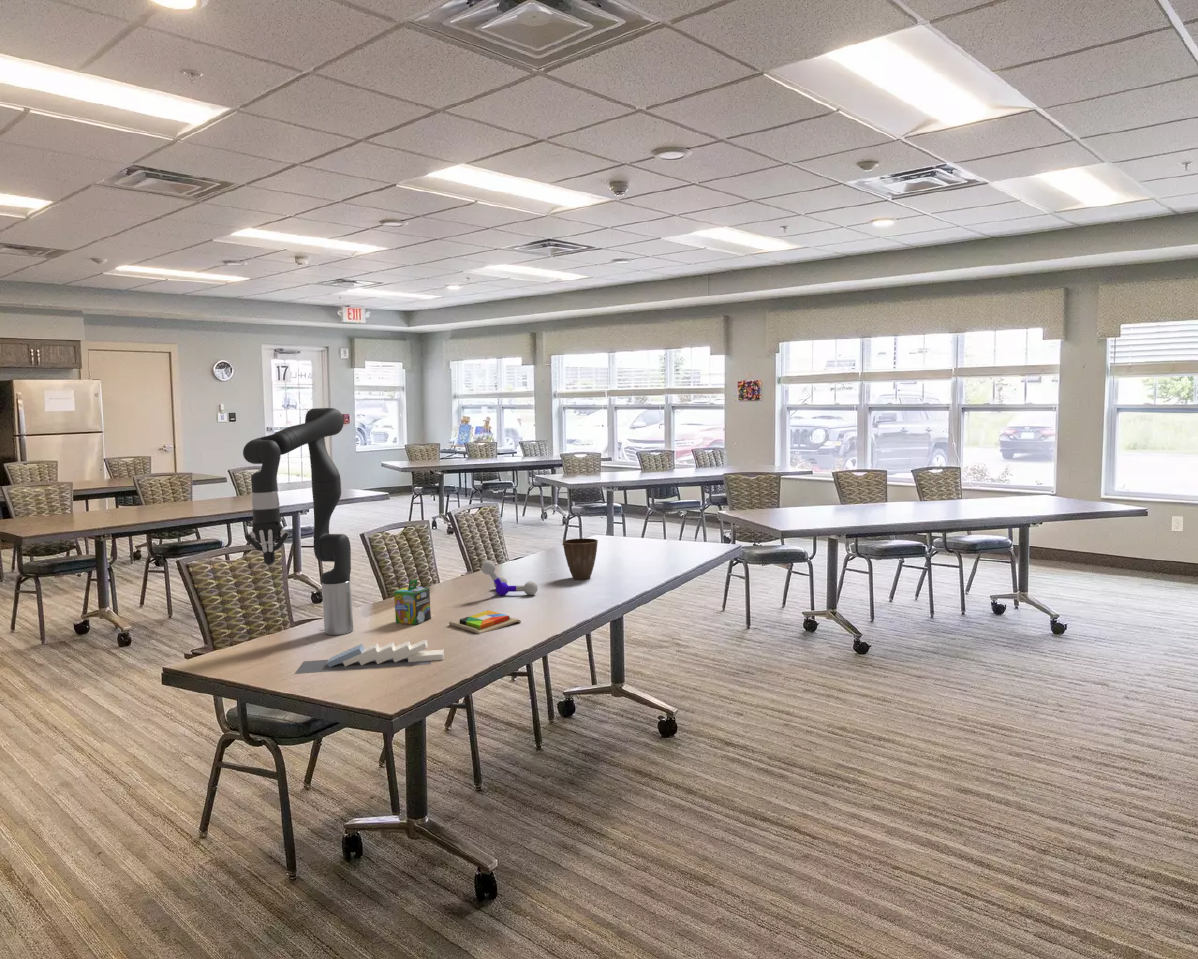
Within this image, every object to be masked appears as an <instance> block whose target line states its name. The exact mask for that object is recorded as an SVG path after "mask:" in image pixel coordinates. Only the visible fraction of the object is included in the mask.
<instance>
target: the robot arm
mask: <svg viewBox="0 0 1198 959" xmlns="http://www.w3.org/2000/svg"><path fill="white" fill-rule="evenodd" d="M344 423H345V421H344V415H343V414H342V413H341V411H340V410H339V409H336V408H333V407H319V408H311V409H309V410H308V411H307V412H306V415H305V418H304V423H300V424H296V425H291V426H289V427H284V428H283V429H281V430H279V431H277V432H274V433H272V434H269V435H266V436H261V437H258V438H255V439H251V440H250V441H248V442H247V443H246V444H245V445H244V447H243V450H242V455H243V458H244V459H245V461H246V462H248V463H249V464H252V465H256V464H257V465H260V464H261V468H260V471H257V472H254V473H252V475H251V477H250V478H251V483H250V484H251V495H252V496H251V506H252V509H251V510H252V521H253V522H252V523H253V526H252V527H251V528H252V529H251V532H249V533H247V534H246V535H245V536H244V537H245V540H247V541H248V542H249V543H250V545H252V547H254V548H255V549H256V550H257V551H260V552H262V554H263V562H264V564H265V563H266V565H273V564H274V562H275V561H276V557H275V556H276V554H275V552H276V551H277V550H279V549H280V548H282V546H283V545H284V544H285V542H286V541H287V540H288V537H290V535H291V533H290V531H286V530H285V529H284V528H283V526H282V524H281V512H280V498H279V494H278V482H277V476H278V471H279V466H280V462H281V458H282V457H281V455H286V454H287V453H289V452H293V451H294V450H296V449H298V448H300V447H303V446H304V445H306V444H307V445H308V451H309V452H308V453H309V460H310V461H309V462H310V472H311V478H310V479H311V491H312V500H313V501H312V502H313V504H312V505H313V553H314V556H315V559H317V561H319V562H324V563H325V562H327V563H328V562H332V563H333V562H334V564H333V568H332V569H331V570H328V571H325V572H323V573H322V574H321V576H320V577H321V578H320V581H321V582H320V583H321V592H322V593H321V594H322V609H323V624H324V625H323V626H324V634H326V635H329V636H330V635H331V636H337V635H338V636H339V635H346V634H349V633H351V632H353V631H354V619H353V618H354V617H353V604H352V603H353V602H352V590H351V589H352V588H351V571H352V561H351V560H352V556H351V555H352V554H351V552H352V551H351V550H352V548H351V541H350V538H349V537H348V536H347V535H346V534H343V533H330V521H331V517H332V515H333V513H334V510H335V508H336V507H337V505H338V504H339V501H340V499H341V497H342V484H341V483H342V482H341V480H342V478H341V474H340V472H339V470H338V468H337V466H336V464H335V463H334V461H333V460H332V458H331V456H330V454H329V453H328V451H327V447H326V441H325V438H326V437H332V436H336V435H338V434H339V433H341V431H342V430H343V428H344V425H345V424H344ZM279 535H280V538H279V540H278V542H277V543H276V539H277V538H278V537H279ZM256 537H257V538H258V540H257V538H256ZM259 541H260V542H259Z"/></svg>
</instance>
